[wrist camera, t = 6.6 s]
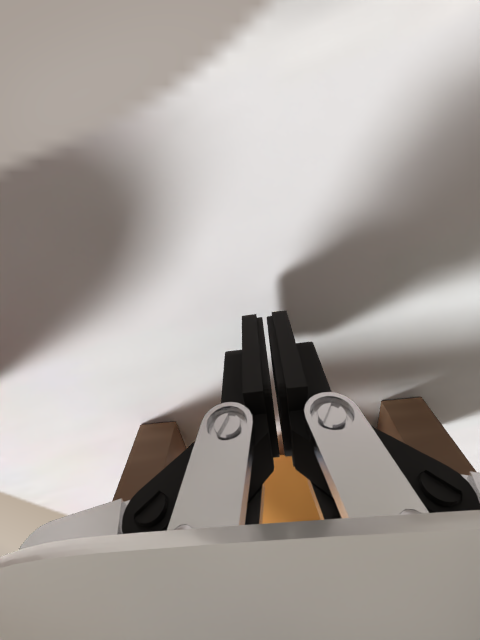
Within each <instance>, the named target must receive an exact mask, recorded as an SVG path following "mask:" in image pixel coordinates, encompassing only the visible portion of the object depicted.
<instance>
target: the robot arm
mask: <svg viewBox="0 0 480 640" xmlns="http://www.w3.org/2000/svg"><path fill="white" fill-rule="evenodd" d="M267 324H268V333H269V342H270V350H271V359H272V368H273V376H274V383H275V390H276V397H277V404H278V411H279V418H280V425H281V431H282V438H283V445H284V452H285V457H287V456H292V462H293V467H295V469H296V470H297V471H298V472H300V473H301V474H302V475H303V476H305V477H306V478H307V480H308V485H309V488H310V491H311V494H312V497H313V499H314V502H315V505H316V508H317V511H318V514H319V516H320V519H321V520H312V521H297V522H282V523H267V524H262V521H263V507H264V494H265V484H264V482H265V481H266V480H267V478H268V477H269V476H270V475H271V474H272V473H273V471H274V460H273V458H275V457H280V455H279V447H278V439H277V431H276V423H275V415H274V407H273V399H272V391H271V383H270V375H269V368H268V360H267V352H266V344H265V336H264V328H263V320H262V317H260V318H257V317H256V314H254V315H246V316H242V350H236V351H227V352H225V361H224V373H223V386H222V398H221V404H219V405H216V406H215V407H213V408H212V409H210V410H209V411H208V412H207V413H206V414H205V416H204V418H203V420H202V422H201V425H200V428H199V431H198V435H197V438H196V441H195V442H194V443H193V444H191V445H190V446H189V447H188V448H187V449H186V450H185V451H183V452H182V453H181V454H180V455H179V456H178V457H177V458H175V459H174V460H173V461H172V462H171V463H170V464H169V465H167V466H166V467H165V468H164V469H163V470H162V471H161V472H159V473H158V474H157V475H156V476H155V477H154V478H152V479H151V480H150V481H149V482H148V483H147V484H146V485H144V486H143V487H142V488H141V489H140V490H139V491H138V492H137V493H136V494H135V495H134V496H133V497H132V498H131V500H128V501H125V502H124V501H123V500H122V498H121V499H118V500H115V501H112V502H109V503H106V504H103V505H100V506H97V507H93V508H90V509H87V510H84V511H81V512H78V513H75V514H72V515H69V516H65V517H62V518H59V519H56V520H53V521H50V522H49V523H46V524H44V525H42V526H40V527H39V528H38V529H37V530H36V531H34V532H33V533H32V534H31V535H29V537H28V538H27V539H26V540H25V542H24V543H23V544H22V545H21V547H20V548H19V550H18V551H15V552H12V553H9V554H6V555H3V556H1V557H0V640H480V473H479V472H471V471H470V473H469V475H461V474H459V473H458V472H457V471H455V470H453V469H452V468H450V467H449V466H447V465H445V464H443V463H441V462H439V461H438V460H436V459H434V458H432V457H430V456H428V455H426V454H424V453H422V452H420V451H418V450H416V449H415V448H413V447H411V446H409V445H407V444H405V443H403V442H401V441H399V440H397V439H395V438H393V437H392V436H390V435H388V434H386V433H384V432H382V431H380V430H378V429H376V428H374V427H372V426H371V425H370V424H369V422H368V421H367V419H366V418H365V416H364V415H363V413H362V412H361V410H360V409H359V407H358V406H357V405H356V404H355V403H354V401H353V400H351V399H350V398H348V397H346V396H345V395H342V394H339V393H334V392H331V390H330V387H329V384H328V382H327V379H326V376H325V374H324V371H323V368H322V366H321V363H320V360H319V358H318V355H317V352H316V350H315V347H314V345H313V342H304V343H295V339H294V336H293V332H292V329H291V325H290V322H289V318H288V315H287V311H278V312H272V316H268V317H267Z"/></svg>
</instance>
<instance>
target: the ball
mask: <svg viewBox="0 0 480 640" xmlns="http://www.w3.org/2000/svg"><path fill="white" fill-rule="evenodd" d="M273 460H274V471H273V473H272V474H271V475H270V476H269V477H268V478H267V480H266V481H265V482H264V484H265V494H264V507H263V521H262V524H267V523H282V522H297V521H312V520H321V519H320V516H319V514H318V511H317V508H316V505H315V502H314V499H313V497H312V494H311V491H310V488H309V485H308V480H307V478H306V477H305V476H303V475H302V474H301V473H300V472H298V471H297V470H296V469H295V467H293V462H292V456H287V457H285V455H280V457H275V458H273Z"/></svg>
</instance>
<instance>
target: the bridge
mask: <svg viewBox="0 0 480 640" xmlns="http://www.w3.org/2000/svg"><path fill="white" fill-rule="evenodd" d="M377 429H378V430H380V431H382V432H384V433H386V434H388V435H390V436H392V437H393V438H395V439H397V440H399V441H401V442H403V443H405V444H407V445H409V446H411V447H413V448H415V449H416V450H418V451H420V452H422V453H424V454H426V455H428V456H430V457H432V458H434V459H436V460H438V461H439V462H441V463H443V464H445V465H447V466H449V467H450V468H452V469H453V470H455V471H457V472H458V473H459V474H461V475H469V473H470V471H471V472H476V471H475V469H474V468H473V467H472V465H471V464H470V463H469V461H468V460H467V458H466V457H465V456H464V454H463V453H462V452H461V450H460V449H459V448H458V446H457V445H456V443H455V442H454V441H453V439H452V438H451V437H450V435H449V434H448V433H447V431H446V430H445V429H444V427H443V426H442V424H441V423H440V422H439V420H438V419H437V418H436V416H435V415H434V414H433V412H432V411H431V410H430V408H429V407H428V405H427V404H426V403H425V401H424V400H423V399H422V397H418V398H408V399H398V400H388V401H381V407H380V413H379V419H378V426H377ZM185 450H186V447H185V444H184V442H183V439H182V437H181V434H180V432H179V429H178V427H177V424H176V422H165V423H154V424H144V425H140V428H139V430H138V433H137V436H136V438H135V441H134V444H133V446H132V449H131V452H130V455H129V457H128V460H127V463H126V465H125V468H124V471H123V474H122V476H121V479H120V482H119V484H118V487H117V490H116V493H115V495H114V498H113V501H115V500H118V499H121V498H122V500H123V501H124V502H125V501H128V500H131V498H132V497H133V496H134V495H135V494H136V493H137V492H138V491H139V490H140V489H141V488H142V487H143V486H144V485H146V484H147V483H148V482H149V481H150V480H151V479H152V478H154V477H155V476H156V475H157V474H158V473H159V472H161V471H162V470H163V469H164V468H165V467H166V466H167V465H169V464H170V463H171V462H172V461H173V460H174V459H175V458H177V457H178V456H179V455H180V454H181V453H182V452H183V451H185Z"/></svg>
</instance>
